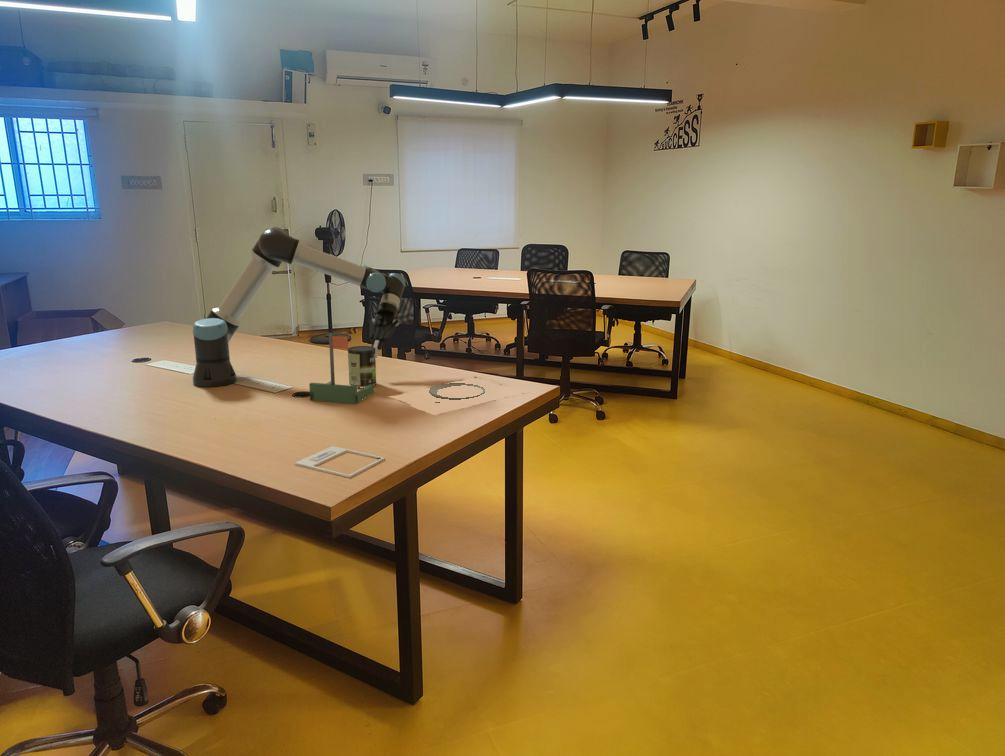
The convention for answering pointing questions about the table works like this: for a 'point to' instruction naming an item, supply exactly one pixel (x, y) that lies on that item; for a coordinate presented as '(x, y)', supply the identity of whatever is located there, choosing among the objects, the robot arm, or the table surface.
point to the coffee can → (362, 366)
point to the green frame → (330, 389)
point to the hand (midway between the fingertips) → (373, 355)
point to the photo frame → (329, 454)
